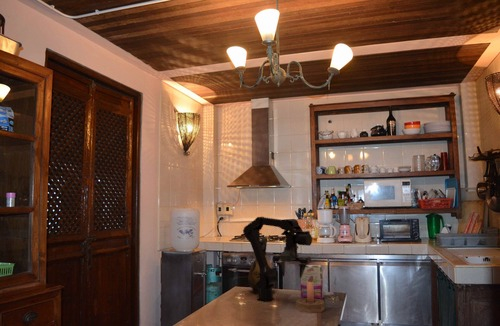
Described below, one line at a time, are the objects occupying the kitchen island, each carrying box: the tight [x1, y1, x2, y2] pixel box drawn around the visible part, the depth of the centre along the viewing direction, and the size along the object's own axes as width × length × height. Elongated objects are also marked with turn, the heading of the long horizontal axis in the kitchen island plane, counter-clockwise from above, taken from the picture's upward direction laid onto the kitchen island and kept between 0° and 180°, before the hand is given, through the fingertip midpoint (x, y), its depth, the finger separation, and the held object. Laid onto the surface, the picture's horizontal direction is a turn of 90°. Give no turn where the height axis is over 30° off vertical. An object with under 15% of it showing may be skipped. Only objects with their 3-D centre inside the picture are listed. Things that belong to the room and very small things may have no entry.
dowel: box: [307, 282, 314, 303], centre depth 183 cm, size 3×3×12 cm
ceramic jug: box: [247, 236, 276, 295], centre depth 221 cm, size 17×15×30 cm
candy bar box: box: [300, 264, 324, 300], centre depth 206 cm, size 11×5×16 cm, turn 73°
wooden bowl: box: [295, 298, 326, 314], centre depth 183 cm, size 12×12×4 cm
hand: (291, 277), depth 193 cm, fingers open, 9 cm apart
